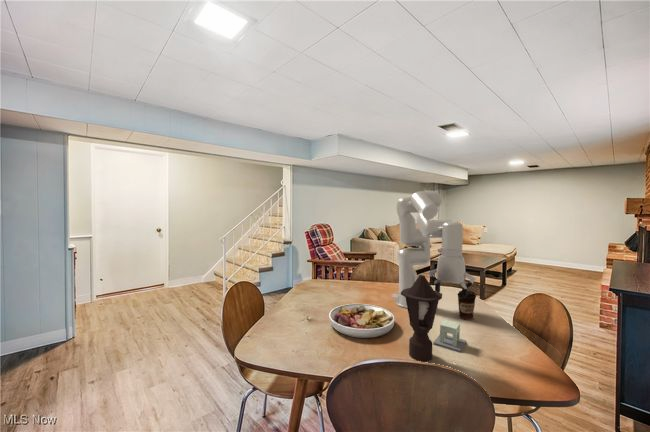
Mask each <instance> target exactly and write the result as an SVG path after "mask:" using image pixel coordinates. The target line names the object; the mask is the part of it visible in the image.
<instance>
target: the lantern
mask: <svg viewBox="0 0 650 432" xmlns="http://www.w3.org/2000/svg"><path fill="white" fill-rule="evenodd" d="M401 295H403V296H404V297H406V303H407V308H406V309H407V313H408V319H409V326H410V327H411V328H412V331H413V334H412V335H411V336H410V338H409V339H408V341H409V342H408V343H409V344H408V355H409V357H410V358H411V359H413V360H414V361H418V362H421V361H423V362H424V363H425V362H430V361H432V359H433V341H432V340H431V338H430V337H429V332H430V330H432V329H433V326H434V322H435V318H436V314H437V310H438V306H439V301H441V300H442V298H443V293H442V292H437V291H435V289H434V288H433V287H432V286H431V284H430V282H429V281H428V279H427V277H426V276H425V275H422V274H420V275H418V276H417V280H416V281H415V282H414V284H413V285H412V287H411V288H407V289H404V290H402V292H401Z"/></svg>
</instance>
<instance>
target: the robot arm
mask: <svg viewBox="0 0 650 432" xmlns="http://www.w3.org/2000/svg"><path fill="white" fill-rule="evenodd" d="M441 204H442V196H441V194H440V193H439V192H437V191H435V190H434V191H429V190H427V191H425V190H424V191H419V190H418V191H416V192H413V194H412V195H411V196H409V197H408V196H404V197H401V198H399V199H398V200H397V202H396V212H397V216H398V220H399V240H400V244H401V245H403V246H407V247H406V248H401V249H399V250H398V252H397V262H398V272H399V273H398V293H397V294H396V293H392V296H391V297H392V299H395V304H396V305H397V306H398V307H401V308H405V309H408V308H407V303H406V297H404V296H403V295H401V292H402V290H404V289H407V288H411V287H412V285H413V284H414V282H415V281H416V280H417V278H418V274H417V271H416V270H415V268H414V267H413V266H427V265H428V264H429V263H430V261H431V239H441V248H438V249H437V252H438V253H440V255H439V256H438V258H437V266H436V268H435V269H433V270H429V271H428V275H429V276H430V279H431V280H432V281H433V283H434V284H435V285H434V291H437V292H439V293H441V282H446V283H451V284H458V285H459V284H460V285H461V286H462V289H461V291H462V299H464V298H465V296H466V297H467V290H468V288H471V286H473V284H474V283H475V281H476V278H475V277H474V276H472V275H471V274H470V273H468V272H466V263H465V258H464V256H463V240H464V239H463V237H464V232H463V231H464V226H463V224H462V223H461V222H459V221H458V222H456V221H452V220H450V219H449V220H442V219H441V220H439V219H437V220H435V219H434V218H436V216H437V214H438V212H439V208H440V206H441ZM412 213H413V214H415V213H416V214H417V216H416V219H415V217H414V216H413V214H412ZM416 226H417V227H416ZM410 246H411V247H410ZM412 246H417V247H412ZM435 274H436V276H435ZM466 278H467V279H468V280H469V281H468V282H466Z"/></svg>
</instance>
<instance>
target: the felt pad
mask: <svg viewBox="0 0 650 432" xmlns="http://www.w3.org/2000/svg"><path fill="white" fill-rule="evenodd" d="M466 343H467V340H466V339H462V338H460V341H459V342H458V341H457V346H453V335H448V334H447V338H444V342H443V343H442V342H440V334H438V336H437V338H435V339H434V341H432V345H434V346H438V347H440V348H445V349H448V350H451V351H454V352H458V353H462V351H463V348H464V347H465V345H466Z"/></svg>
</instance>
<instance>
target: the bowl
mask: <svg viewBox="0 0 650 432" xmlns="http://www.w3.org/2000/svg"><path fill="white" fill-rule="evenodd" d="M328 319H329V323H330V325H331V326H332V327H333V329H334V330H335V331H338V332H339V333H341V334H343V335H346V336H348V337H352V338H360V339H368V338H369V339H371V338H372V339H373V338H377V337H381V336H384V335H386V334H387V333H389V332H390V331H391V330H392V329H393V327H394V325H395V316H394V314H393V313H392V312H391V311H389V310H388V309H386V308H384V307H380V306H378V305H373V304H368V303H367V304H366V303H347V304H342V305H339V306H336V307H334V308H332V309H331V310H330V311H329V314H328Z"/></svg>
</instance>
